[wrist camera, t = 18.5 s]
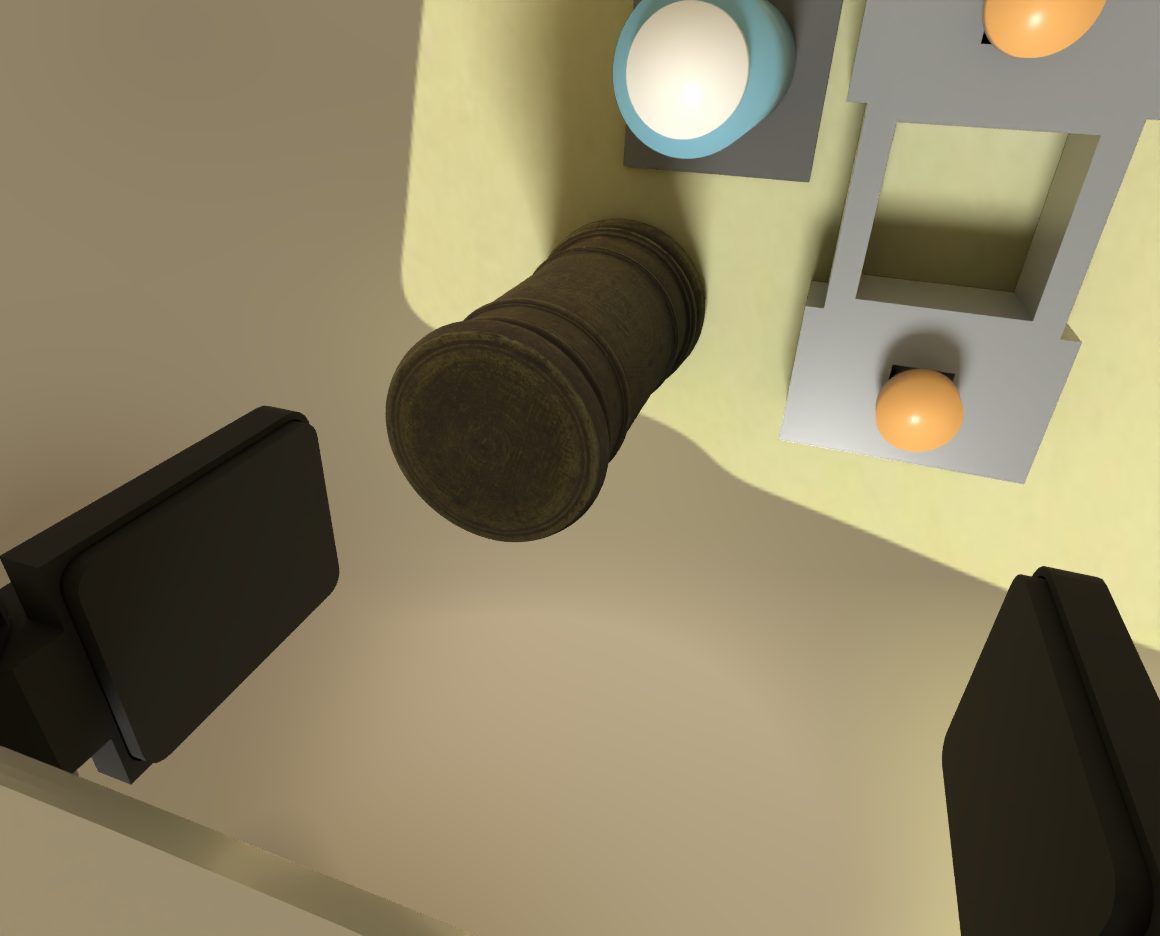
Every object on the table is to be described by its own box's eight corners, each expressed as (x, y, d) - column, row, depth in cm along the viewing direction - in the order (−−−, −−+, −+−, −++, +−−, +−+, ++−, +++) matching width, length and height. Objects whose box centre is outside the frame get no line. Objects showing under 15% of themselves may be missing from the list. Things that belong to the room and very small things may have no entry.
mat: (852, -54, 29) (852, -55, 29) (809, 181, 34) (808, 182, 34) (640, -54, 32) (637, -56, 31) (625, 165, 36) (623, 165, 36)
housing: (1214, -100, 26) (1273, -127, 22) (1007, 441, 37) (1024, 484, 33) (887, -97, 28) (890, -120, 25) (786, 404, 39) (778, 439, 36)
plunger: (1079, -44, 27) (1129, -69, 22) (1046, 60, 29) (1085, 60, 24) (980, -45, 28) (1006, -68, 23) (954, 56, 30) (972, 55, 24)
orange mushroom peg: (958, 337, 35) (974, 386, 29) (937, 402, 36) (949, 458, 31) (883, 327, 35) (886, 372, 30) (867, 391, 37) (867, 443, 32)
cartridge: (807, -6, 30) (784, -26, 22) (784, 135, 33) (755, 168, 24) (680, -8, 32) (610, -29, 23) (669, 127, 34) (602, 155, 26)
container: (549, 210, 39) (354, 304, 24) (715, 224, 36) (613, 338, 22) (550, 367, 43) (386, 527, 28) (698, 388, 41) (604, 576, 26)
